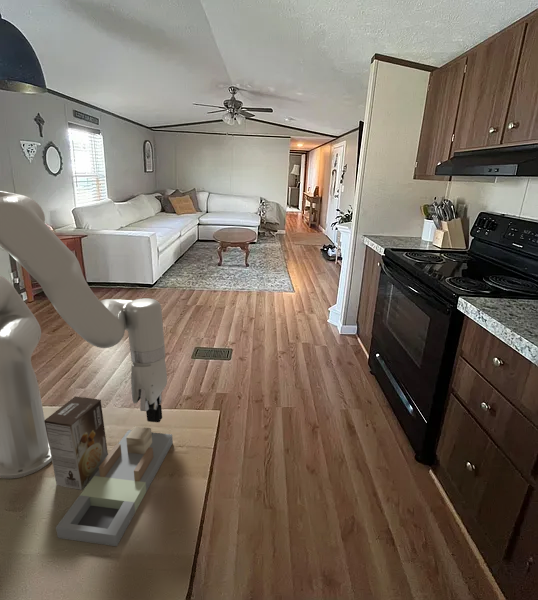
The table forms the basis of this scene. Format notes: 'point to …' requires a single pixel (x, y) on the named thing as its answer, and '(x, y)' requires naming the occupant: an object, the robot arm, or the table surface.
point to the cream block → (139, 440)
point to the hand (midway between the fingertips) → (154, 419)
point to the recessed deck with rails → (114, 493)
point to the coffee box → (77, 441)
